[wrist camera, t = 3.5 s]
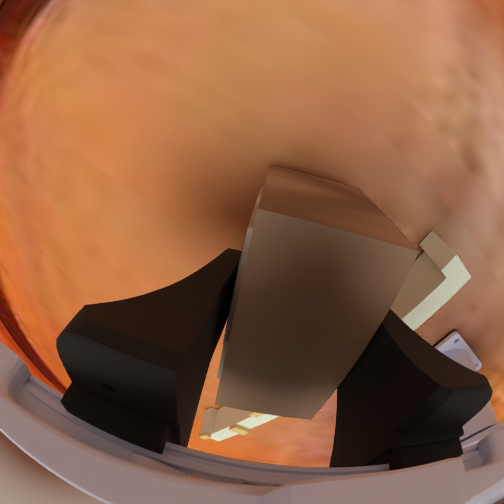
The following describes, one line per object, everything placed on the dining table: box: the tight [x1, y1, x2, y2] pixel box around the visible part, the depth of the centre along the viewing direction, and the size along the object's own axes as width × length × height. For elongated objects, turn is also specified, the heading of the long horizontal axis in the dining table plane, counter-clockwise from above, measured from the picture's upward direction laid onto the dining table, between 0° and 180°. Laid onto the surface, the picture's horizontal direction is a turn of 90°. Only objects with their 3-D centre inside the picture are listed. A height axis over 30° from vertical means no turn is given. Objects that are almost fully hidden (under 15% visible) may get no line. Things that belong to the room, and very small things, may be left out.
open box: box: [215, 165, 419, 419], centre depth 10 cm, size 4×8×6 cm, turn 169°
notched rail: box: [199, 231, 471, 441], centre depth 17 cm, size 2×26×3 cm, turn 144°
